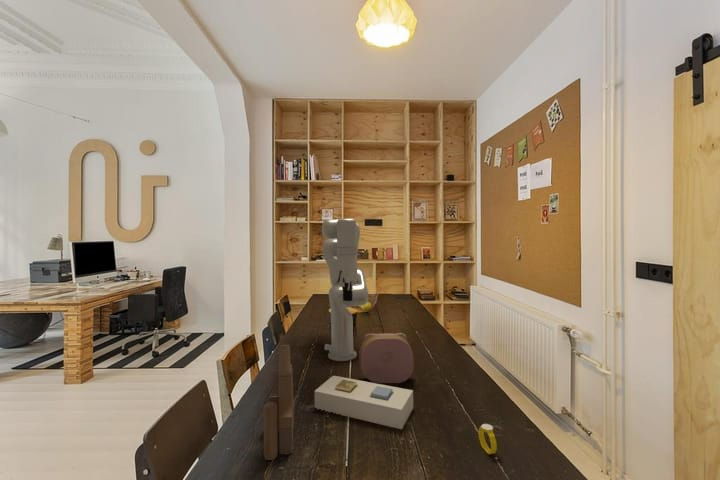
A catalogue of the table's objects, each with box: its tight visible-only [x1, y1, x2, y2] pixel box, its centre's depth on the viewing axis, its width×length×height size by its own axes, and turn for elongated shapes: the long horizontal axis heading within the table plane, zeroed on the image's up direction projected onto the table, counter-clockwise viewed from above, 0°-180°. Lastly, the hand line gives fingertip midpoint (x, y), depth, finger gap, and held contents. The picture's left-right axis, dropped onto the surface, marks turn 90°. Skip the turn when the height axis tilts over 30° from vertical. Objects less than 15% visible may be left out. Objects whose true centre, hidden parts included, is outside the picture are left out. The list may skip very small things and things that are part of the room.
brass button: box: [336, 380, 357, 393], centre depth 104 cm, size 5×5×3 cm
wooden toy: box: [262, 344, 295, 461], centre depth 86 cm, size 16×7×25 cm, turn 10°
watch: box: [478, 423, 498, 455], centre depth 81 cm, size 6×3×6 cm, turn 10°
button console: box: [314, 375, 414, 430], centre depth 101 cm, size 28×12×6 cm, turn 66°
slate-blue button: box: [371, 386, 392, 401], centre depth 99 cm, size 5×5×3 cm
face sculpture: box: [358, 332, 414, 384], centre depth 120 cm, size 20×7×17 cm, turn 92°
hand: (347, 300), depth 123 cm, fingers closed
